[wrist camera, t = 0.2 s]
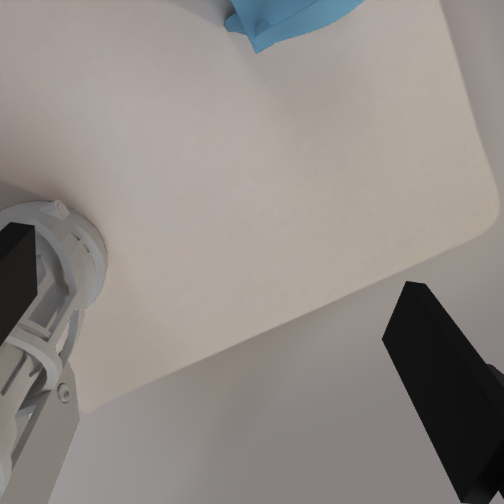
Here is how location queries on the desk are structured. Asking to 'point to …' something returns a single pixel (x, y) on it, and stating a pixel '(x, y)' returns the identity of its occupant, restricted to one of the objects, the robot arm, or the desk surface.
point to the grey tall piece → (46, 350)
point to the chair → (284, 18)
